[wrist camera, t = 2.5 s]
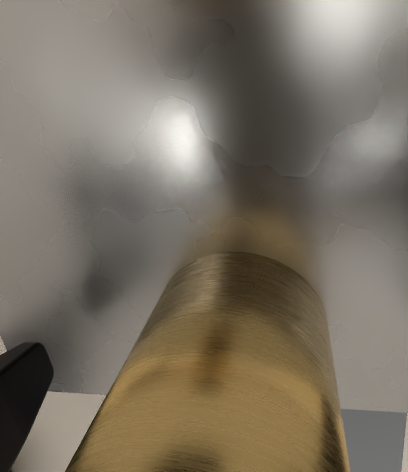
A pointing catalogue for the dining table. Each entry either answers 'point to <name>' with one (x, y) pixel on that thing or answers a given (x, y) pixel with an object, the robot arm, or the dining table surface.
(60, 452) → the dining table surface
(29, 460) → the dining table surface
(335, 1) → the pan
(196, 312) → the cylinder
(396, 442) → the rubber mat
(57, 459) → the dining table surface
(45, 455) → the dining table surface
